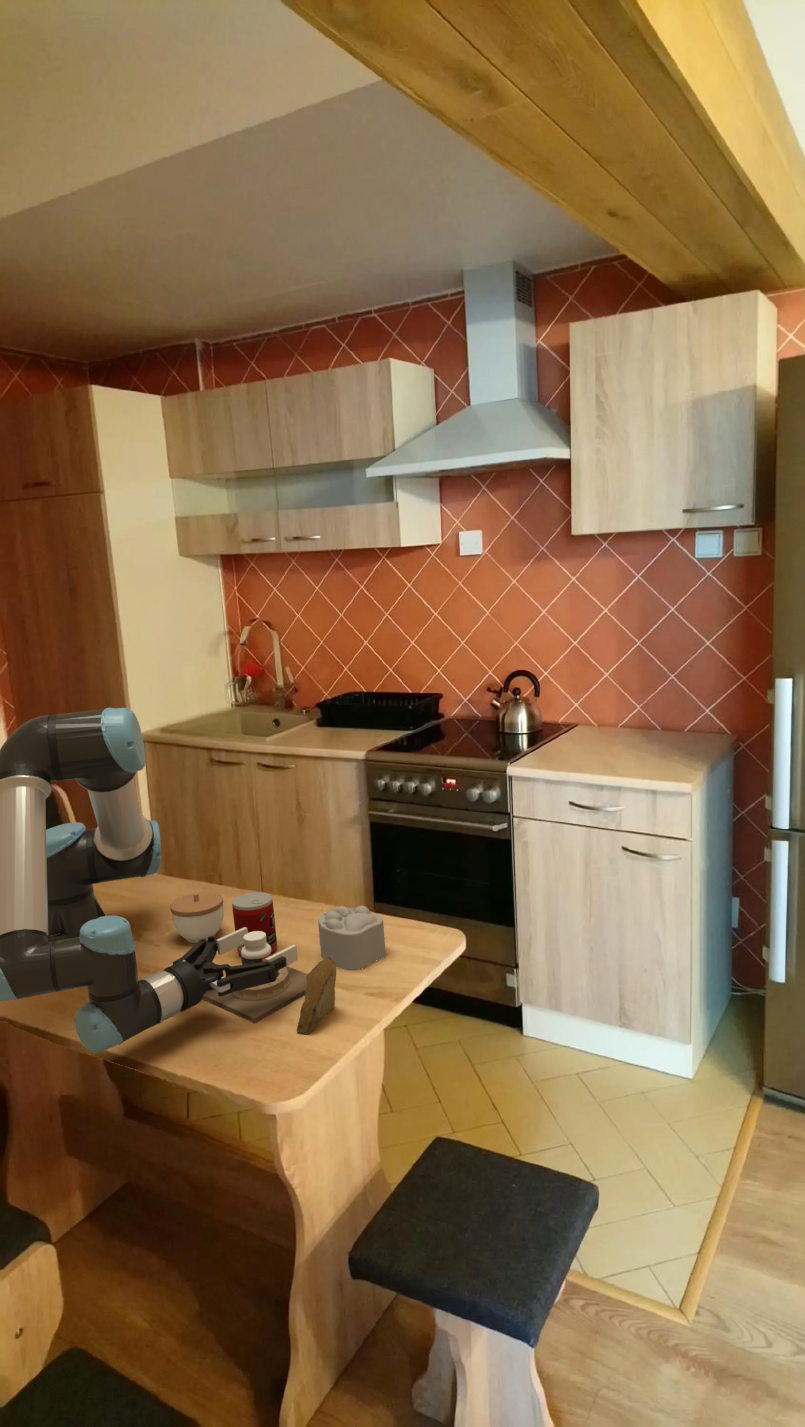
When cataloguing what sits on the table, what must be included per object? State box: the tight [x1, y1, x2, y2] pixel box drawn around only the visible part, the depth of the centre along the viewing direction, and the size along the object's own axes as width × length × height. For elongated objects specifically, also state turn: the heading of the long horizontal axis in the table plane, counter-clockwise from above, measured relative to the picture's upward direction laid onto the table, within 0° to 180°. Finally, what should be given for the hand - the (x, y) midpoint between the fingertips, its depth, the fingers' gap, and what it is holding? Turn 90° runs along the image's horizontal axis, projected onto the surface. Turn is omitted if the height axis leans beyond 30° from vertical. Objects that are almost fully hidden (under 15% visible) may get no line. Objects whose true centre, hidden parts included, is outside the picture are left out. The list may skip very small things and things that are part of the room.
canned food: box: [231, 891, 278, 957], centre depth 174 cm, size 8×8×11 cm
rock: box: [296, 957, 337, 1035], centre depth 148 cm, size 11×9×10 cm
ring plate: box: [202, 965, 308, 1024], centre depth 159 cm, size 16×16×3 cm
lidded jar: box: [169, 891, 225, 944], centre depth 184 cm, size 11×11×9 cm
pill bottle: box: [240, 931, 273, 965], centre depth 158 cm, size 5×5×10 cm
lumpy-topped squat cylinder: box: [317, 905, 387, 971], centre depth 171 cm, size 10×13×9 cm
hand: (270, 942), depth 161 cm, fingers open, 13 cm apart
